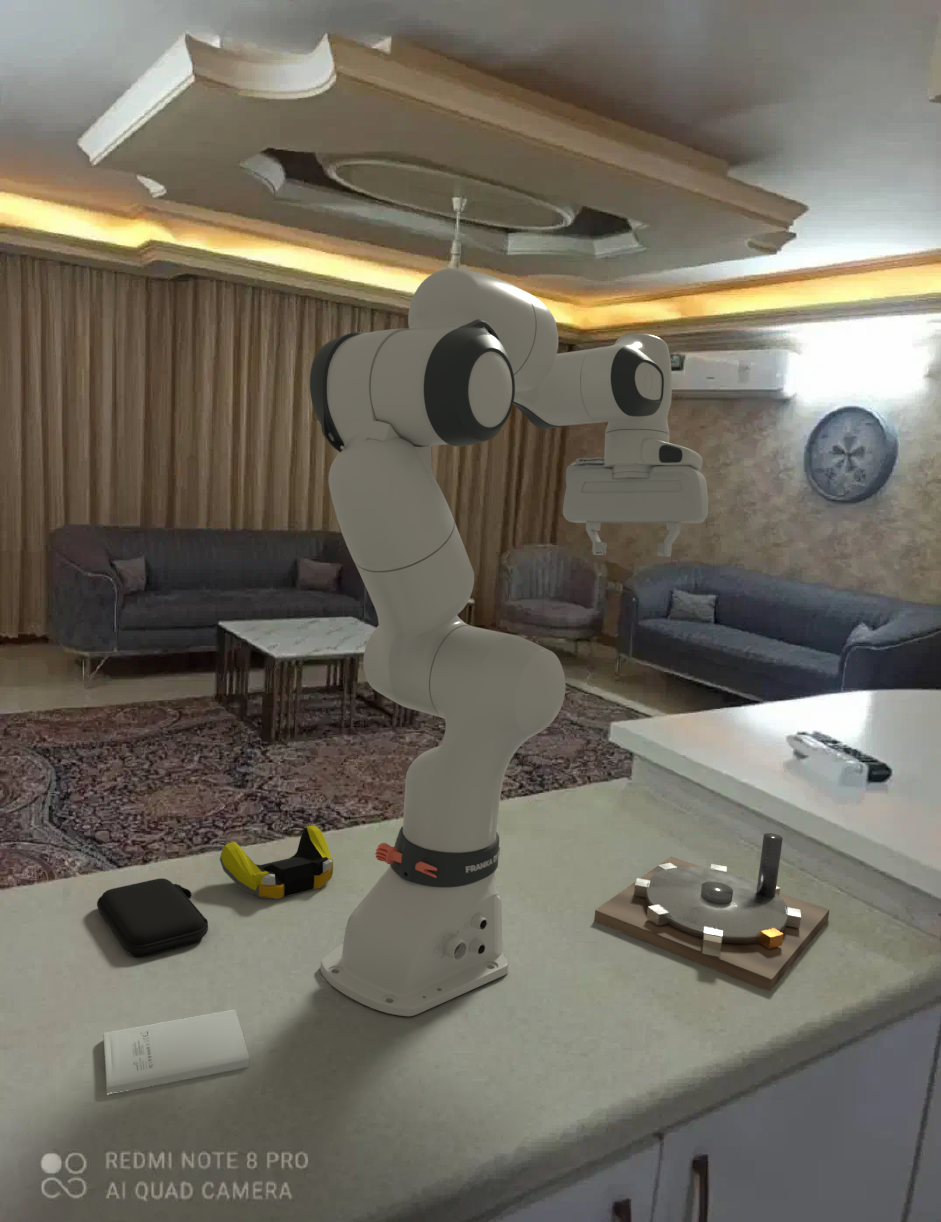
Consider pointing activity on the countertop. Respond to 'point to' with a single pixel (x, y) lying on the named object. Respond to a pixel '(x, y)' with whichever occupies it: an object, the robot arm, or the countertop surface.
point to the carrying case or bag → (152, 916)
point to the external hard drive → (174, 1051)
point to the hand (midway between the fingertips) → (631, 555)
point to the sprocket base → (731, 953)
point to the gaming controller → (282, 868)
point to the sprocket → (722, 900)
